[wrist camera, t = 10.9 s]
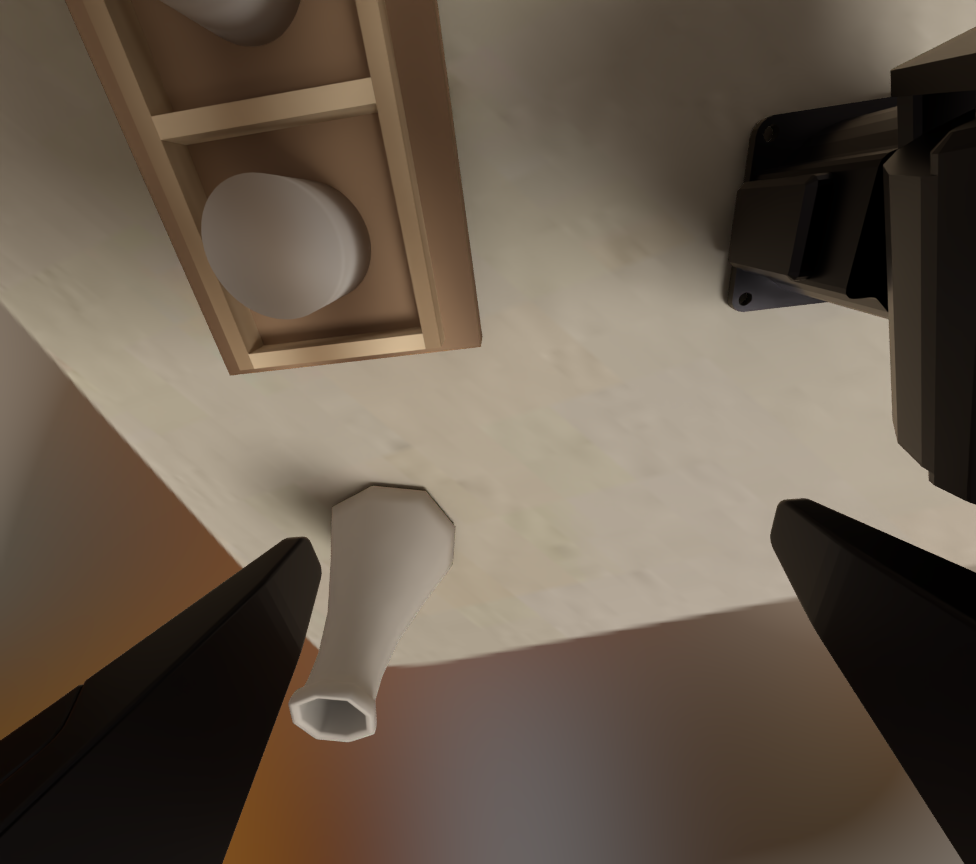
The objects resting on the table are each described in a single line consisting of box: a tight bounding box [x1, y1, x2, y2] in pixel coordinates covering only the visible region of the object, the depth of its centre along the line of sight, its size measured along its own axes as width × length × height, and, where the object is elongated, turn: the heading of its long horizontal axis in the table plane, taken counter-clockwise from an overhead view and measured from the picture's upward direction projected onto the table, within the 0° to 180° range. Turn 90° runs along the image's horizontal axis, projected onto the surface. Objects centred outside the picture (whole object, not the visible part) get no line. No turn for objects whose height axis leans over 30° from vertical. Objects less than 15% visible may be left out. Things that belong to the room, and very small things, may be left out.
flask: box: [289, 486, 455, 742], centre depth 20 cm, size 7×7×10 cm
